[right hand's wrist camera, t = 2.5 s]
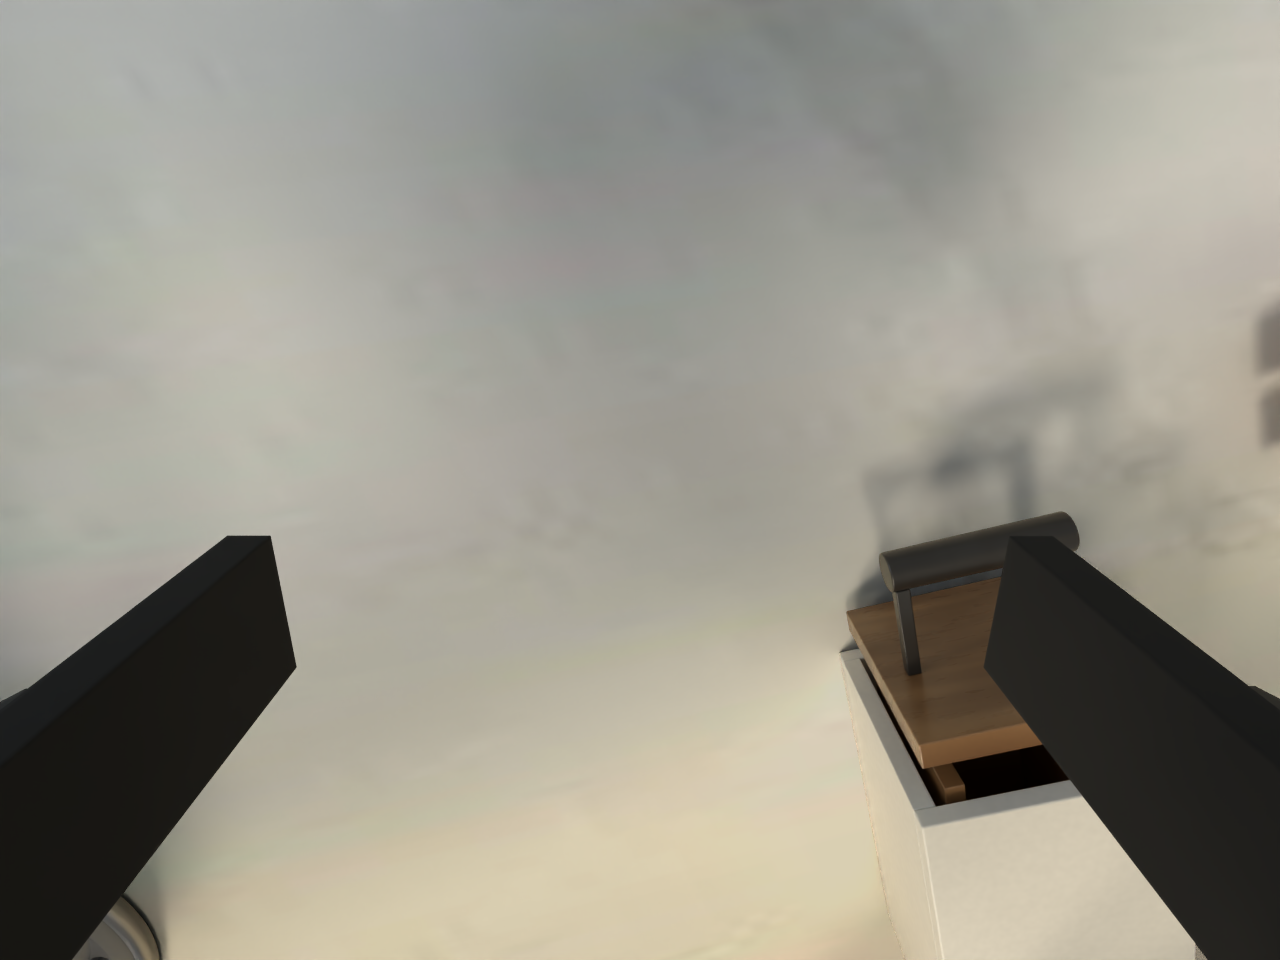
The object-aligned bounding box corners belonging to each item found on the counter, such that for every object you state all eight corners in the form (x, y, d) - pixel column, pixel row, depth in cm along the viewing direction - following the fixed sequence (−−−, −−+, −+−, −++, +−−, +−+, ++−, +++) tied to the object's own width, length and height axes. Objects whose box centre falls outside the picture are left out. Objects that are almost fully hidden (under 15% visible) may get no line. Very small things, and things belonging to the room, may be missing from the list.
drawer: (827, 507, 34) (898, 613, 25) (1016, 462, 33) (1163, 554, 24) (894, 877, 42) (967, 1061, 33) (1047, 847, 41) (1166, 1026, 32)
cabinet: (838, 652, 38) (921, 828, 27) (1031, 609, 37) (1199, 773, 26) (888, 914, 44) (971, 1141, 33) (1053, 882, 43) (1194, 1106, 32)
